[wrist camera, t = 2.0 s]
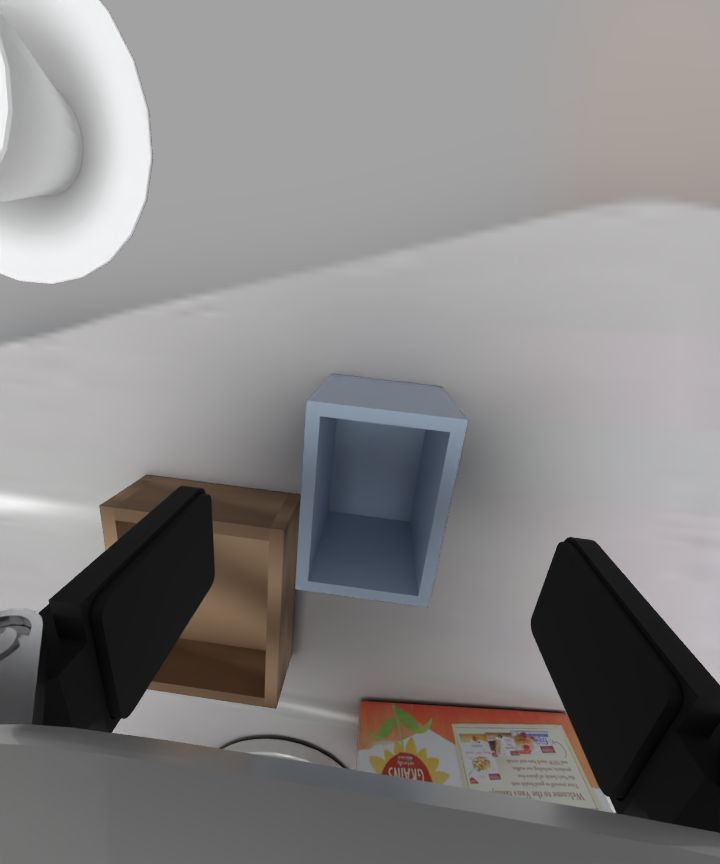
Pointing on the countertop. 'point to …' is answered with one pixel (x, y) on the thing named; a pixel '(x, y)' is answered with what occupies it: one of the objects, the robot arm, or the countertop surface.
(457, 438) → the slate crate
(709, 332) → the countertop surface
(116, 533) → the walnut crate
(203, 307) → the countertop surface
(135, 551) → the robot arm
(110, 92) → the teacup
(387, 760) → the cracker box
